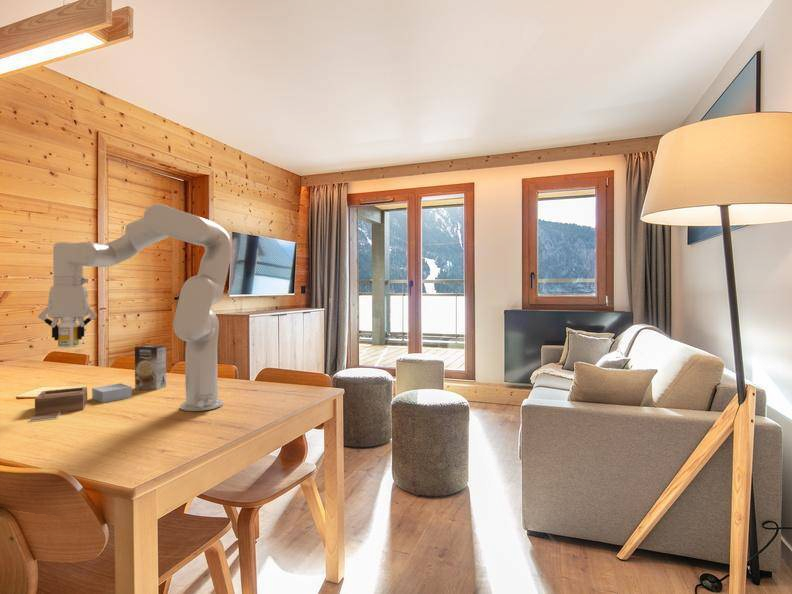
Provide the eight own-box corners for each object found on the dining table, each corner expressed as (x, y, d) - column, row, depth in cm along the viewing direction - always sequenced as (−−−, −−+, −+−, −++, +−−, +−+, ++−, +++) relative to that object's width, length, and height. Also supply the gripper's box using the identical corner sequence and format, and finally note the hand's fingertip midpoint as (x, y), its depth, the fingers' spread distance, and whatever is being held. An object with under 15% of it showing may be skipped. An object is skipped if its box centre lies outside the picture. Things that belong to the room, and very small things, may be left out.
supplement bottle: (75, 345, 146) (75, 315, 146) (81, 346, 143) (81, 316, 143) (55, 346, 142) (55, 316, 142) (61, 348, 139) (60, 317, 138)
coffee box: (133, 389, 169) (133, 346, 169) (145, 385, 176) (144, 344, 175) (157, 389, 168) (156, 347, 168) (167, 386, 175) (166, 344, 174)
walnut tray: (83, 409, 142) (83, 394, 142) (35, 415, 136) (34, 399, 136) (87, 401, 152) (87, 386, 152) (42, 405, 146) (42, 391, 146)
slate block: (131, 398, 157) (131, 386, 157) (102, 403, 150) (102, 391, 150) (120, 394, 163) (120, 383, 163) (92, 399, 156) (92, 388, 156)
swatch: (57, 418, 133) (57, 416, 133) (28, 422, 129) (27, 420, 129) (61, 412, 139) (61, 411, 139) (33, 415, 135) (33, 414, 135)
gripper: (101, 282, 149) (101, 337, 150) (36, 281, 141) (36, 339, 141) (100, 282, 143) (100, 339, 143) (31, 281, 134) (31, 342, 135)
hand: (68, 338), depth 142 cm, fingers closed on supplement bottle, 5 cm apart
